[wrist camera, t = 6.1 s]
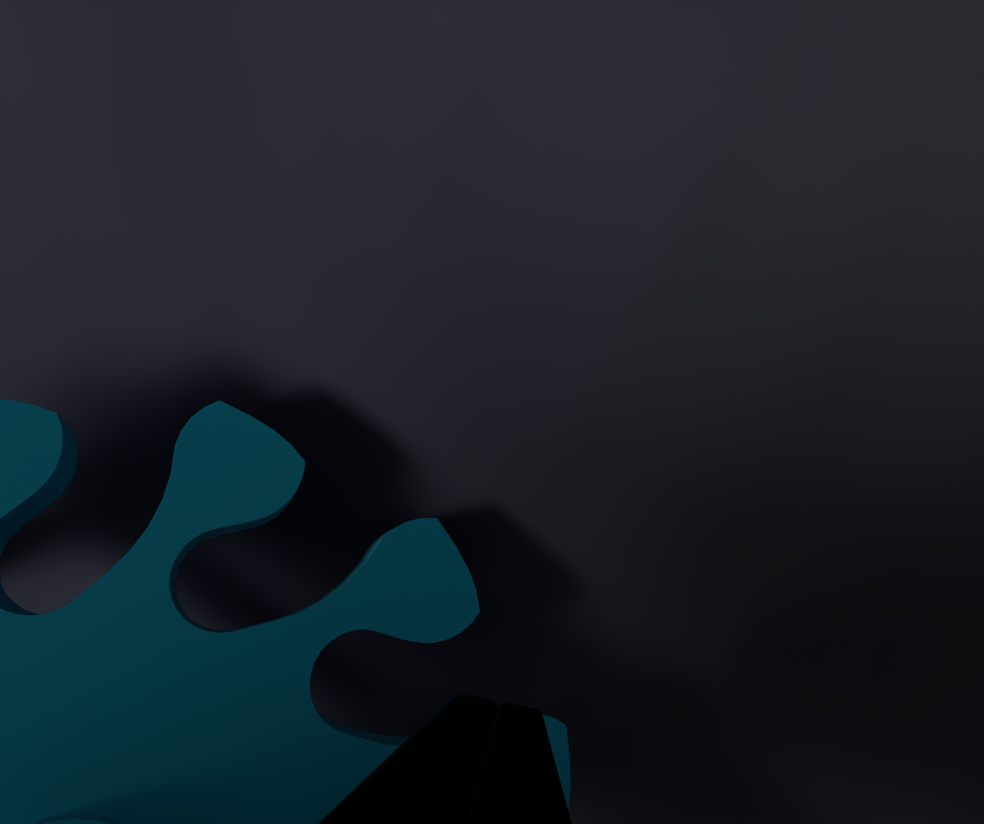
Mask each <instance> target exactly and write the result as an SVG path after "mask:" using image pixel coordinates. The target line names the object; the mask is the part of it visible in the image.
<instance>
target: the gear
mask: <svg viewBox="0 0 984 824" xmlns="http://www.w3.org/2000/svg"><path fill="white" fill-rule="evenodd" d="M77 460H78V448H77V441H76V438H75V435H74V433H73V430H72V429H71V428H70V427H69V426H68V425H67V424H66V422H65V421H64V420H63V419H62V418H61V417H60V416H59V415H58V414H57V413H55V412H52V411H49V410H47V409H44V408H41V407H39V406H36V405H33V404H28V403H23V402H18V401H12V400H7V399H0V557H1V554H2V552H3V549H4V547H5V545H6V544H7V542H8V541H9V539H10V538H11V536H12V535H13V534H14V533H15V532H16V531H17V530H18V529H20V528H21V527H22V526H23V525H24V524H26V523H27V522H28V521H30V520H31V519H32V518H34V517H35V516H36V515H38V514H39V513H40V512H41V511H43V510H44V509H45V508H47V507H48V506H49V505H51V504H52V503H53V502H54V501H55V500H56V499H57V498H58V497H59V496H60V495H62V494H63V492H64V491H65V489H66V488H67V487H68V485H69V484H70V482H71V480H72V478H73V475H74V473H75V470H76V467H77ZM304 468H305V461H304V460H303V458H302V457H301V456H300V455H299V453H298V452H297V451H296V450H295V449H294V447H293V446H292V445H291V444H290V443H289V442H288V441H286V440H285V439H284V438H283V437H282V436H280V435H279V434H278V433H277V432H276V431H274V430H273V429H271V428H270V427H268V426H267V425H265V424H263V423H262V422H260V421H258V420H257V419H255V418H254V417H252V416H250V415H248V414H246V413H244V412H242V411H240V410H238V409H236V408H234V407H232V406H230V405H228V404H226V403H224V402H222V401H220V400H219V401H216V402H214V403H212V404H210V405H208V406H205V407H204V408H202V409H201V410H200V411H198V412H197V413H196V414H195V415H193V416H192V417H191V418H190V419H189V421H188V422H187V423H186V425H185V426H184V427H183V429H182V430H181V432H180V434H179V437H178V439H177V442H176V444H175V447H174V454H173V462H172V469H171V474H170V477H169V481H168V484H167V487H166V490H165V493H164V496H163V499H162V501H161V503H160V505H159V507H158V509H157V511H156V513H155V515H154V516H153V518H152V520H151V522H150V524H149V526H148V527H147V529H146V530H145V531H144V533H143V534H142V535H141V537H140V538H139V539H138V541H137V542H136V543H135V544H134V546H133V547H132V548H131V550H130V551H129V552H128V553H127V554H126V555H125V556H124V557H123V558H122V559H121V560H120V561H119V562H117V563H116V564H115V565H114V566H113V567H112V568H111V569H110V570H109V571H108V572H107V573H106V574H105V575H103V576H102V577H101V578H100V579H99V580H97V581H96V582H95V583H94V584H92V585H91V586H90V587H89V588H88V589H86V590H85V591H84V592H83V593H81V594H80V595H79V596H78V597H77V598H75V599H74V600H73V601H71V602H70V603H68V604H67V605H65V606H64V607H62V608H60V609H57V610H55V611H52V612H50V613H47V614H36V613H33V612H30V611H26V610H24V609H23V608H21V607H20V606H18V605H16V604H15V603H14V602H13V601H12V600H11V599H10V598H9V597H8V596H7V595H6V593H5V591H4V589H3V587H2V585H1V581H0V824H318V823H319V822H320V821H321V820H322V819H323V818H324V817H325V816H326V815H327V814H328V813H329V812H330V811H331V810H333V809H334V808H335V807H336V806H337V805H338V804H339V803H340V802H341V801H342V800H343V799H344V798H345V797H346V796H347V795H348V794H349V793H350V792H352V791H353V790H354V789H355V788H356V787H357V786H358V785H359V784H360V783H361V782H362V781H363V780H364V779H365V778H366V777H367V776H368V775H370V774H371V773H372V772H373V771H374V770H375V769H376V768H377V767H378V766H379V765H380V764H381V763H382V762H383V761H384V760H385V759H386V758H387V757H389V756H390V755H391V754H392V753H393V752H394V751H395V750H396V749H397V748H398V747H399V746H400V745H401V744H402V743H403V742H404V741H405V740H407V739H408V738H409V737H410V736H389V735H383V734H378V733H372V732H367V731H363V730H360V729H356V728H352V727H348V726H345V725H341V724H337V723H335V722H332V721H330V720H327V719H326V718H324V717H323V716H322V715H320V714H319V713H318V712H317V711H316V709H315V707H314V705H313V702H312V700H311V693H310V676H311V672H312V669H313V666H314V662H315V660H316V659H317V657H318V655H319V654H320V652H321V650H322V649H323V648H324V647H325V646H326V645H327V644H328V643H329V642H330V641H332V640H333V639H335V638H336V637H338V636H339V635H341V634H344V633H346V632H349V631H352V630H361V629H367V630H370V631H374V632H377V633H381V634H384V635H387V636H391V637H394V638H398V639H403V640H408V641H414V642H420V643H434V642H440V641H443V640H447V639H450V638H452V637H454V636H455V635H457V634H459V633H461V632H462V631H463V630H464V629H466V628H467V627H468V626H469V625H470V624H471V623H472V622H473V620H474V619H475V618H476V616H477V615H478V613H479V612H480V608H479V603H478V597H477V592H476V588H475V585H474V583H473V580H472V577H471V575H470V572H469V569H468V567H467V565H466V563H465V562H464V560H463V558H462V556H461V554H460V552H459V551H458V549H457V547H456V545H455V544H454V542H453V541H452V539H451V538H450V536H449V535H448V533H447V532H446V530H445V529H444V528H443V526H442V525H441V523H440V522H439V520H438V519H437V518H419V519H415V520H411V521H407V522H405V523H403V524H401V525H399V526H398V527H396V528H394V529H392V530H390V531H388V532H386V533H384V534H383V535H381V536H380V537H379V538H378V539H377V540H376V541H375V542H374V543H372V544H371V545H370V547H369V548H368V550H367V551H366V553H365V554H364V556H363V557H362V559H361V560H360V562H359V563H358V564H357V566H356V567H355V568H354V569H353V570H352V571H351V572H350V573H349V574H348V575H347V576H346V577H345V578H344V580H343V581H342V582H341V583H340V584H339V585H337V586H336V587H335V588H333V589H332V590H331V591H329V592H328V593H327V594H325V595H324V596H323V597H321V598H320V599H319V600H317V601H315V602H313V603H311V604H310V605H308V606H306V607H304V608H302V609H300V610H298V611H296V612H294V613H291V614H288V615H285V616H282V617H279V618H276V619H273V620H270V621H267V622H263V623H259V624H254V625H250V626H246V627H242V628H238V629H234V630H226V631H218V630H210V629H208V628H205V627H202V626H200V625H198V624H197V623H195V622H194V621H192V620H191V619H190V618H189V617H188V616H187V615H186V613H185V612H184V611H183V610H182V608H181V606H180V604H179V601H178V599H177V593H176V576H177V573H178V570H179V567H180V564H181V563H182V561H183V559H184V558H185V556H186V555H187V554H188V553H189V552H190V551H191V550H192V549H193V548H194V547H195V546H196V545H197V544H199V543H201V542H202V541H204V540H206V539H208V538H211V537H214V536H217V535H222V534H227V533H232V532H236V531H241V530H246V529H250V528H254V527H257V526H260V525H263V524H266V523H267V522H269V521H271V520H272V519H274V518H276V517H277V516H278V515H279V514H280V513H281V512H283V511H284V510H285V509H286V508H287V506H288V505H289V503H290V502H291V501H292V499H293V498H294V495H295V493H296V491H297V489H298V487H299V484H300V482H301V479H302V477H303V473H304ZM497 708H498V707H497ZM541 714H542V713H541ZM542 716H543V718H544V722H545V725H546V729H547V733H548V737H549V740H550V744H551V748H552V752H553V755H554V759H555V763H556V767H557V770H558V774H559V778H560V782H561V785H562V789H563V793H564V797H565V800H566V804H567V808H568V809H569V800H570V790H571V783H570V757H569V747H568V738H567V729H566V725H565V724H563V723H561V722H560V721H558V720H556V719H555V718H553V717H550V716H547V715H545V714H542Z"/></svg>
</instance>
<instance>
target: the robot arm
mask: <svg viewBox="0 0 984 824" xmlns="http://www.w3.org/2000/svg"><path fill="white" fill-rule="evenodd" d="M318 824H572V823H571V819H570V815H569V812H568V808H567V804H566V800H565V797H564V793H563V789H562V785H561V782H560V778H559V774H558V770H557V767H556V763H555V759H554V755H553V752H552V748H551V744H550V740H549V737H548V733H547V729H546V725H545V722H544V718H543V716H542V714H541V712H540V711H539V710H537V709H534V708H530V707H525V706H520V705H515V704H510V703H502V704H500V705H499V706H498V708H497V706H496V703H495V702H494V701H493V700H490V699H485V698H480V697H475V696H471V695H466V694H456V695H454V696H452V697H451V698H450V699H449V700H448V701H447V702H446V703H445V704H444V705H442V706H441V707H440V708H439V709H438V710H437V711H436V712H435V713H434V714H433V715H432V716H431V717H430V718H429V719H428V720H427V721H426V722H424V723H423V724H422V725H421V726H420V727H419V728H418V729H417V730H416V731H415V732H414V733H413V734H412V735H411V736H410V737H409V738H408V739H407V740H405V741H404V742H403V743H402V744H401V745H400V746H399V747H398V748H397V749H396V750H395V751H394V752H393V753H392V754H391V755H390V756H389V757H387V758H386V759H385V760H384V761H383V762H382V763H381V764H380V765H379V766H378V767H377V768H376V769H375V770H374V771H373V772H372V773H371V774H370V775H368V776H367V777H366V778H365V779H364V780H363V781H362V782H361V783H360V784H359V785H358V786H357V787H356V788H355V789H354V790H353V791H352V792H350V793H349V794H348V795H347V796H346V797H345V798H344V799H343V800H342V801H341V802H340V803H339V804H338V805H337V806H336V807H335V808H334V809H333V810H331V811H330V812H329V813H328V814H327V815H326V816H325V817H324V818H323V819H322V820H321V821H320V822H319V823H318Z"/></svg>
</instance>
